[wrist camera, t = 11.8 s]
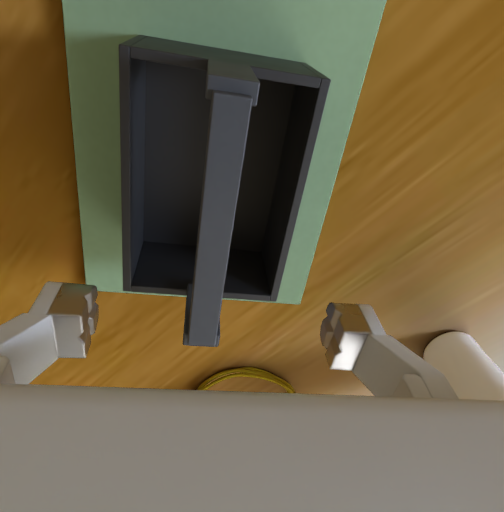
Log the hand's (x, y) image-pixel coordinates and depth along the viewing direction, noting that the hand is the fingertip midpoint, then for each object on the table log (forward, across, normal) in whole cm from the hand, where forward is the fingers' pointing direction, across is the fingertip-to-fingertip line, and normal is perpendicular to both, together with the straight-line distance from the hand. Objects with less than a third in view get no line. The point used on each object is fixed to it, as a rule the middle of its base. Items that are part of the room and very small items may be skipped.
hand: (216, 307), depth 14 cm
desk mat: (+16, 0, 0) cm, 16 cm away
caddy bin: (+16, 0, 0) cm, 16 cm away
